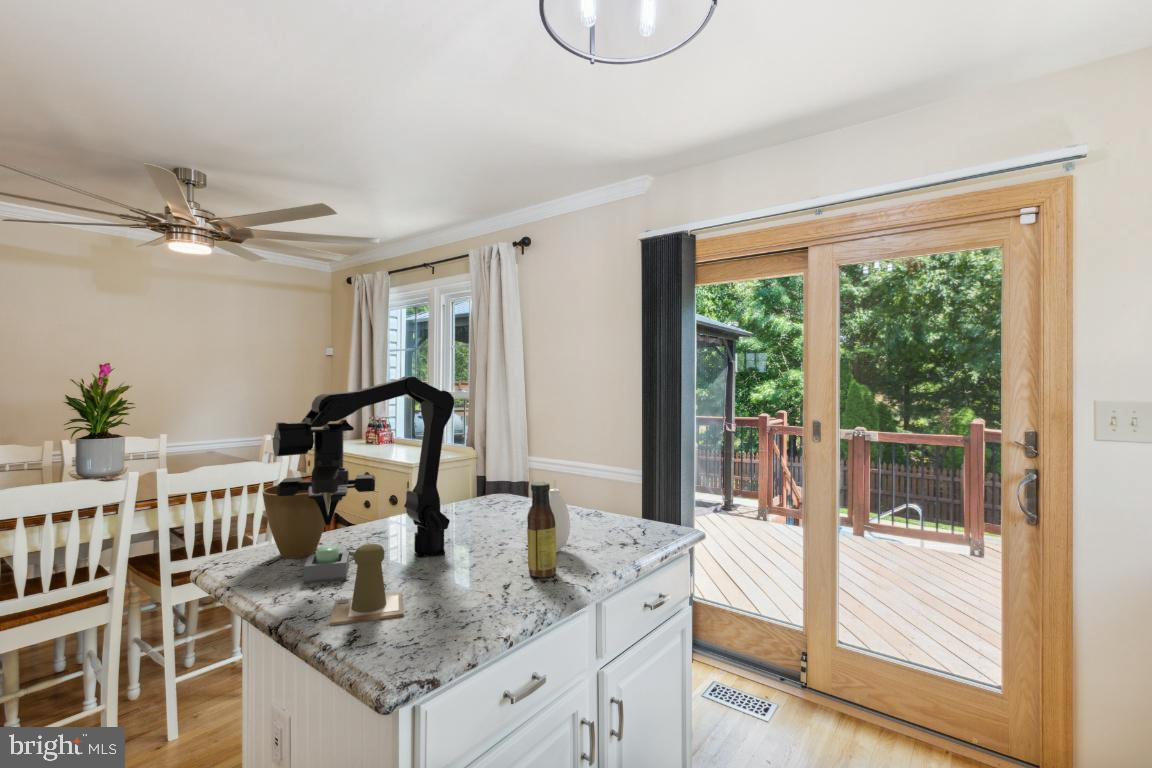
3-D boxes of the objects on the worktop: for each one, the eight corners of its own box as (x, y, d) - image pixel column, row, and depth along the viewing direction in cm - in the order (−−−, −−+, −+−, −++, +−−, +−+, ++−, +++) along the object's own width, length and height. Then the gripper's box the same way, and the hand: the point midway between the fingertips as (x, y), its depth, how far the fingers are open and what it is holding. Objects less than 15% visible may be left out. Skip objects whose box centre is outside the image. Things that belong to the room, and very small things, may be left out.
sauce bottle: (560, 571, 119) (561, 481, 119) (549, 580, 113) (551, 487, 113) (533, 567, 121) (534, 479, 121) (521, 576, 115) (522, 484, 115)
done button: (339, 558, 118) (339, 545, 118) (337, 565, 114) (338, 551, 114) (317, 560, 116) (317, 547, 116) (314, 567, 112) (315, 553, 112)
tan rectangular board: (402, 594, 105) (402, 591, 105) (403, 616, 95) (403, 612, 95) (335, 602, 101) (335, 599, 101) (329, 625, 91) (329, 621, 91)
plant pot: (284, 543, 136) (285, 480, 136) (342, 545, 136) (343, 482, 136) (247, 563, 121) (247, 493, 121) (311, 565, 121) (312, 494, 121)
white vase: (551, 558, 127) (552, 483, 127) (531, 550, 133) (532, 478, 133) (575, 552, 132) (576, 479, 132) (555, 544, 138) (556, 474, 138)
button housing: (349, 566, 120) (349, 551, 120) (346, 579, 113) (346, 562, 113) (309, 570, 118) (309, 554, 117) (303, 583, 110) (304, 566, 110)
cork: (383, 611, 96) (384, 550, 96) (347, 613, 95) (348, 551, 95) (388, 597, 102) (389, 540, 102) (355, 599, 101) (355, 541, 101)
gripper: (271, 459, 104) (271, 539, 104) (374, 456, 110) (373, 531, 110) (282, 452, 115) (282, 524, 115) (375, 449, 121) (375, 518, 121)
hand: (328, 525), depth 115 cm, fingers closed
